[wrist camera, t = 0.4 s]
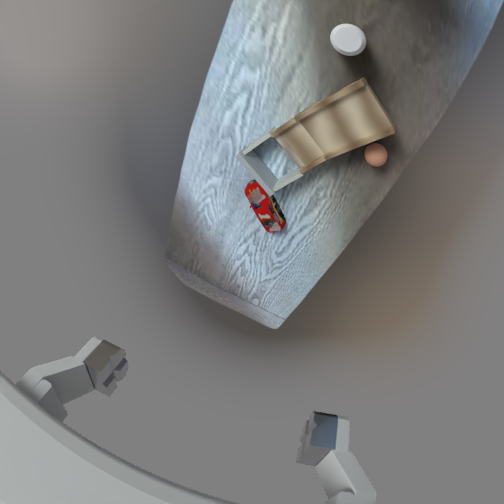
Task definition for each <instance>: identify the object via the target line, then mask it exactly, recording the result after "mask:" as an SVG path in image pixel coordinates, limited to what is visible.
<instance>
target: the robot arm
mask: <svg viewBox="0 0 504 504" xmlns="http://www.w3.org/2000/svg"><path fill="white" fill-rule="evenodd" d="M125 355H126V353H125V350H124V349H122V348H120V347H118V346H116V345H114V344H112V343H110V342H108V341H106V340H104V339H102V338H100V337H98V336H95V337H93V338H92V339H91V340H90V341H89V342H88V343H87V344H86V345H85V346H84V347H83V349H81V350H80V351H79V352H78V353H77V355H76V356H75V357H73V356H70V357H67V358H64V359H60V360H57V361H54V362H50V363H47V364H43V365H40V366H36V367H33V368H31V369H30V370H29V371H28V372H27V373H26V374H25V375H24V376H23V377H22V378H21V379H20V381H18V382H17V383H16V385H15V384H14V383H13V382H12V381H11V380H10V379H9V378H8V377H7V376H5V375H4V374H3V373H2V372H1V371H0V504H238V503H235V502H231V501H227V500H223V499H220V498H217V497H214V496H210V495H208V494H204V493H201V492H199V491H196V490H193V489H190V488H187V487H185V486H182V485H179V484H177V483H174V482H172V481H169V480H167V479H164V478H162V477H160V476H157V475H155V474H153V473H151V472H148V471H146V470H144V469H142V468H140V467H138V466H135V465H134V464H132V463H130V462H128V461H126V460H124V459H122V458H120V457H118V456H116V455H115V454H113V453H111V452H109V451H107V450H106V449H104V448H102V447H100V446H99V445H97V444H95V443H94V442H92V441H90V440H89V439H87V438H86V437H84V436H82V435H81V434H79V433H78V432H76V431H75V430H73V429H72V428H70V427H69V426H67V425H66V424H64V423H63V420H64V419H65V418H66V417H67V415H68V414H67V411H66V409H65V408H64V406H63V404H65V403H67V402H69V401H71V400H74V399H76V398H78V397H80V396H82V395H84V394H87V393H89V392H91V391H93V390H94V389H96V390H98V391H100V392H102V393H104V394H106V395H108V396H110V395H111V394H112V393H113V391H114V390H115V389H116V387H117V381H120V380H122V379H123V378H124V376H125V375H126V372H127V370H128V363H127V360H126V359H125V358H124V356H125ZM349 433H350V419H349V417H344V416H337V415H333V414H327V413H322V412H316V411H313V412H312V413H311V415H310V420H307V422H306V423H305V425H304V428H303V430H302V434H301V439H300V441H301V443H302V445H301V446H300V448H299V449H298V455H297V460H296V462H297V463H302V464H306V465H312V466H316V470H317V472H318V475H319V477H320V480H321V482H322V484H323V487H324V489H325V492H326V494H327V496H328V499H329V500H328V501H326V502H324V503H323V504H376V491H375V489H374V488H373V486H372V485H371V483H370V481H369V480H368V478H367V476H366V475H365V473H364V472H363V470H362V468H361V466H360V465H359V463H358V462H357V460H356V458H355V457H354V455H353V453H352V452H349Z"/></svg>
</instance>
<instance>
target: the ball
mask: <svg viewBox="0 0 504 504" xmlns="http://www.w3.org/2000/svg"><path fill="white" fill-rule="evenodd" d="M364 156H365V159H366V161H367V162H368V163H369V164H370V165H372V166H375V167H379V166H382V165H383V164H384V163H385V162H386V161H387V157H388V155H387V151H386V149H385V148H384V146H382V145H381V144H378V143H372V144H370V145H368V146H367V147H366V149H365V152H364Z"/></svg>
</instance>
